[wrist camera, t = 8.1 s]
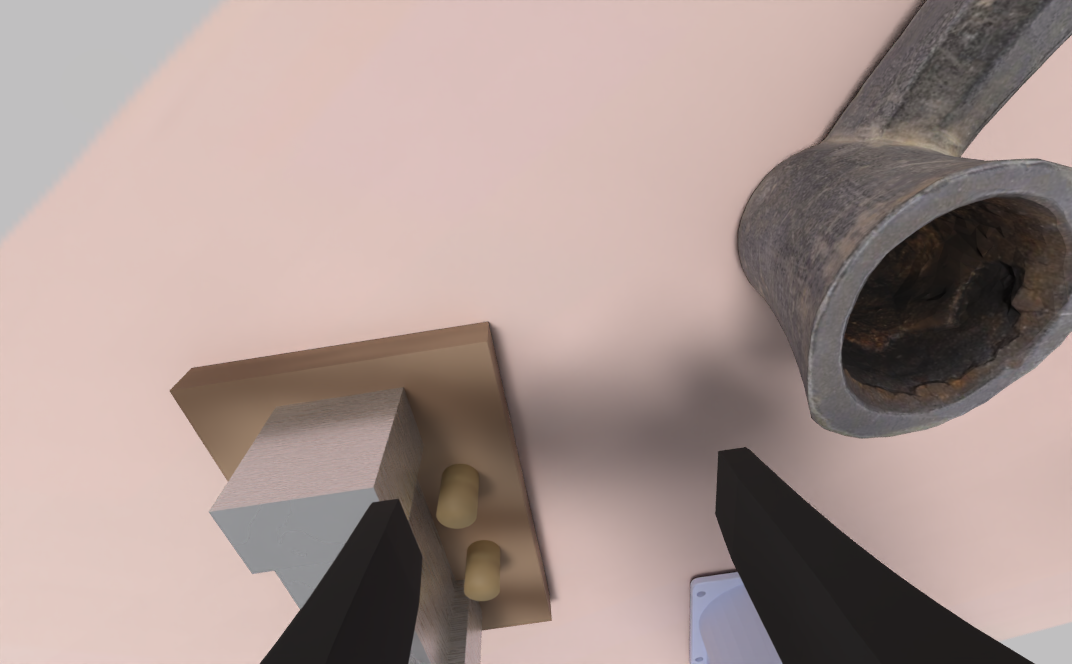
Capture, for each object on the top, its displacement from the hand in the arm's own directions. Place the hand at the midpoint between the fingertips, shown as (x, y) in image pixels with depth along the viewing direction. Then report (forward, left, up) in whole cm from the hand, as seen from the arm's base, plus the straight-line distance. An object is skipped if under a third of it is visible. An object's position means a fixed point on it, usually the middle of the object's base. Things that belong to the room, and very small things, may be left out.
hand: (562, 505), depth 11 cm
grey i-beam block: (-9, +8, -8) cm, 14 cm away
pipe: (+4, -11, -10) cm, 15 cm away
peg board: (-9, +8, -9) cm, 15 cm away
